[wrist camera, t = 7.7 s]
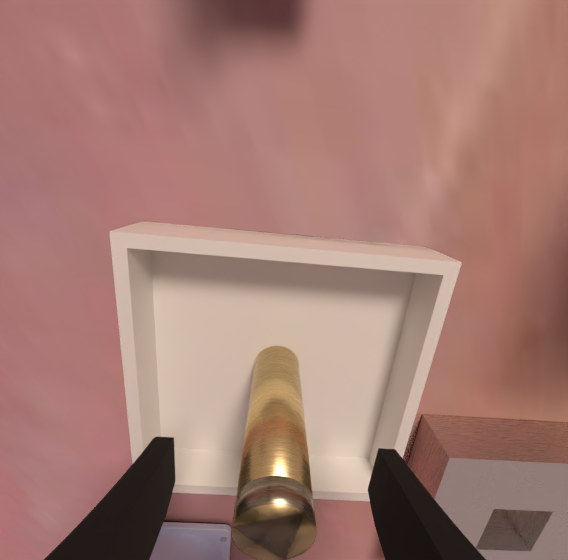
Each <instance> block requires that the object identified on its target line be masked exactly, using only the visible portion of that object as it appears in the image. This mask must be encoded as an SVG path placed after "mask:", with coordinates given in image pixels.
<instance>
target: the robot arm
mask: <svg viewBox="0 0 568 560" xmlns="http://www.w3.org/2000/svg"><path fill="white" fill-rule="evenodd" d="M174 484H175V453H174V437H155V438H153V439H152V441H151V442H150V443H149V444H148V446H147V447H146V448H145V450H144V451H143V452H142V453H141V455H140V456H139V457H138V458H137V459H136V461H135V462H134V463H133V464H132V466H131V467H130V468H129V469H128V470H127V472H126V473H125V474H124V475H123V476H122V477H121V479H120V480H119V481H118V482H117V483H116V484H115V485H114V487H113V488H112V489H111V490H110V491H109V492H108V493H107V495H106V496H105V497H104V498H103V499H102V500H101V501H100V502H99V504H98V505H97V506H96V507H95V508H94V509H93V510H92V511H91V512H90V513H89V514H88V515H87V516H86V517H85V518H84V519H83V521H82V522H81V523H80V524H79V525H78V526H77V527H76V528H75V529H74V530H73V531H72V532H71V533H70V534H69V535H68V536H67V537H66V538H65V539H64V540H63V541H62V542H61V543H60V544H59V545H58V546H57V547H56V548H55V549H54V550H53V551H52V552H51V553H50V554H49V555H48V556H47V557H46V558H45V559H44V560H230V544H231V527H230V526H229V525H227V524H207V523H181V522H164V519H165V516H166V513H167V509H168V506H169V502H170V499H171V495H172V492H173V488H174ZM368 494H369V499H370V504H371V509H372V514H373V518H374V523H375V527H376V530H377V533H378V537H379V540H380V543H381V547H382V550H383V553H384V556H385V560H486V559H485V558H484V557H483V556H482V555H481V554H480V552H479V551H478V550H477V549H476V548H475V547H474V546H473V545H472V543H471V542H470V541H469V540H468V539H467V538H466V537H465V535H464V534H463V533H462V532H461V531H460V530H459V528H458V527H457V526H456V525H455V524H454V523H453V521H452V520H451V519H450V518H449V517H448V515H447V514H446V513H445V512H444V510H443V509H442V508H441V507H440V506H439V504H438V503H437V502H436V501H435V500H434V498H433V497H432V496H431V495H430V493H429V492H428V491H427V489H426V488H425V487H424V486H423V484H422V483H421V482H420V481H419V479H418V478H417V477H416V475H415V474H414V473H413V472H412V470H411V469H410V468H409V466H408V465H407V464H406V462H405V461H404V460H403V459H402V457H401V456H400V455H399V453H398V452H397V451H396V450H395V449H382V448H378V452H377V456H376V459H375V463H374V467H373V471H372V475H371V479H370V482H369V486H368Z"/></svg>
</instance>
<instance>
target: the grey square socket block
mask: <svg viewBox="0 0 568 560" xmlns="http://www.w3.org/2000/svg"><path fill="white" fill-rule="evenodd" d="M407 465H408V466H409V468H410V469H411V470H412V472H413V473H414V474H415V475H416V477H417V478H418V479H419V481H420V482H421V483H422V484H423V486H424V487H425V488H426V489H427V491H428V492H429V493H430V495H431V496H432V497H433V498H434V500H435V501H436V502H437V503H438V504H439V506H440V507H441V508H442V509H443V510H444V512H445V513H446V514H447V515H448V517H449V518H450V519H451V520H452V521H453V523H454V524H455V525H456V526H457V527H458V528H459V530H460V531H461V532H462V533H463V534H464V535H465V537H466V538H467V539H468V540H469V541H470V542H471V543H472V545H473V546H474V547H475V548H476V549H477V550H478V551H479V552H480V554H481V555H482V556H483V557H484V558H485V559H486V560H568V423H557V422H540V421H524V420H507V419H490V418H473V417H457V416H440V415H422V418H421V421H420V425H419V428H418V431H417V434H416V438H415V441H414V444H413V447H412V450H411V454H410V457H409V460H408V463H407Z"/></svg>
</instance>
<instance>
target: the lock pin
mask: <svg viewBox="0 0 568 560" xmlns="http://www.w3.org/2000/svg"><path fill="white" fill-rule="evenodd" d="M231 535H232V539H233V542H234V543H235V545H236V546H237V548H238V549H239V550H241V551H242V552H243V553H245V554H246V555H248V556H250V557H253V558H256V559H259V560H287V559H291V558H294V557H297V556H299V555H301V554H302V553H304V552H305V551H307V550H308V549H309V548H310V547H311V546H312V544H313V543H314V541H315V538H316V522H315V512H314V503H313V494H312V484H311V475H310V465H309V456H308V446H307V437H306V427H305V418H304V408H303V399H302V390H301V380H300V371H299V362H298V358H297V356H296V355H295V353H294V352H293V351H291V350H290V349H288V348H286V347H283V346H271V347H268V348H265V349H264V350H262V351H261V352H260V353H259V354H258V355H257V357H256V360H255V365H254V372H253V379H252V387H251V394H250V401H249V408H248V416H247V423H246V430H245V437H244V444H243V452H242V459H241V466H240V473H239V481H238V488H237V495H236V502H235V510H234V517H233V524H232V534H231Z"/></svg>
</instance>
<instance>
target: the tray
mask: <svg viewBox="0 0 568 560" xmlns="http://www.w3.org/2000/svg"><path fill="white" fill-rule="evenodd" d="M110 241H111V252H112V262H113V272H114V282H115V292H116V302H117V312H118V322H119V333H120V343H121V353H122V363H123V373H124V383H125V393H126V403H127V414H128V424H129V434H130V444H131V454H132V464H133V463H134V462H135V461H136V459H137V458H138V457H139V456H140V455H141V453H142V452H143V451H144V450H145V448H146V447H147V446H148V444H149V443H150V442H151V441H152V439H153V438H155V437H174V453H175V484H174V488H173V492H172V493H194V494H217V495H237V488H238V481H239V473H240V466H241V459H242V452H243V444H244V437H245V430H246V423H247V416H248V408H249V401H250V394H251V387H252V379H253V372H254V365H255V360H256V357H257V355H258V354H259V353H260V352H261V351H262V350H264V349H265V348H268V347H271V346H283V347H286V348H288V349H290V350H291V351H293V352H294V353H295V355H296V356H297V358H298V362H299V371H300V380H301V390H302V399H303V408H304V418H305V427H306V437H307V446H308V456H309V465H310V475H311V484H312V494H313V499H332V500H355V501H370V499H369V494H368V486H369V482H370V479H371V475H372V471H373V467H374V463H375V459H376V456H377V452H378V448H382V449H395V450H396V451H397V452H398V453H399V455H400V456H401V457H402V459H403V456H404V452H405V449H406V446H407V442H408V439H409V436H410V432H411V429H412V426H413V422H414V419H415V416H416V412H417V409H418V406H419V403H420V399H421V396H422V393H423V389H424V386H425V383H426V379H427V376H428V373H429V369H430V366H431V363H432V359H433V356H434V353H435V349H436V346H437V343H438V339H439V336H440V333H441V329H442V326H443V323H444V320H445V316H446V313H447V310H448V306H449V303H450V300H451V296H452V293H453V290H454V286H455V283H456V280H457V276H458V273H459V270H460V266H461V263H462V262H460V261H457V260H455V259H453V258H451V257H448V256H446V255H444V254H441V253H439V252H437V251H435V250H432V249H430V248H428V247H424V246H413V245H402V244H391V243H380V242H369V241H358V240H347V239H336V238H324V237H313V236H302V235H291V234H280V233H269V232H258V231H247V230H236V229H225V228H214V227H203V226H192V225H181V224H170V223H159V222H148V221H143V222H139V223H136V224H132V225H129V226H126V227H122V228H119V229H116V230H112V231H110Z"/></svg>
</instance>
